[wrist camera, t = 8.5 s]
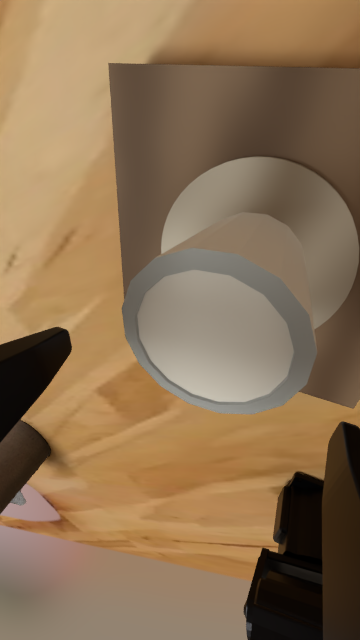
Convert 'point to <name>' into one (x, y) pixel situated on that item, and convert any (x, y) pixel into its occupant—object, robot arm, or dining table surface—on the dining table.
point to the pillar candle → (19, 460)
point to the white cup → (226, 316)
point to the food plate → (18, 499)
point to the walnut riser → (249, 179)
